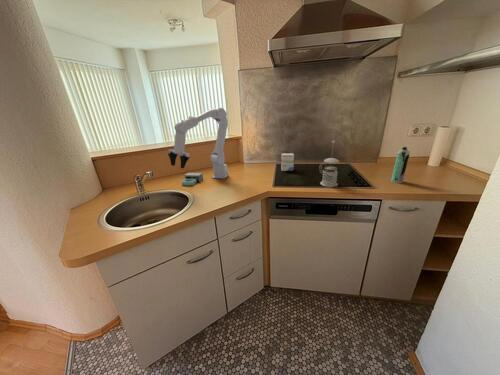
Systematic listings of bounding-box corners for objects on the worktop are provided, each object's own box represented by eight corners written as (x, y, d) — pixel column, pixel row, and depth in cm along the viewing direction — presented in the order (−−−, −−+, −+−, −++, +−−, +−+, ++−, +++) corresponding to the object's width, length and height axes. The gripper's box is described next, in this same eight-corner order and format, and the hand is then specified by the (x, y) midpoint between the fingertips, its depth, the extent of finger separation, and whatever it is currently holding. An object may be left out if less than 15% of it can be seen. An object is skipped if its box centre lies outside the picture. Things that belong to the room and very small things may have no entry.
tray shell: (196, 182, 130) (196, 178, 129) (192, 185, 125) (191, 182, 124) (186, 182, 132) (186, 178, 131) (182, 185, 126) (181, 181, 125)
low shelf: (203, 179, 135) (202, 173, 134) (199, 182, 131) (198, 175, 129) (189, 178, 137) (188, 172, 136) (185, 181, 133) (184, 175, 131)
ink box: (292, 168, 149) (293, 153, 145) (293, 170, 145) (294, 154, 140) (281, 168, 150) (281, 153, 146) (281, 170, 146) (281, 154, 141)
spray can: (404, 183, 115) (413, 147, 107) (393, 182, 116) (401, 147, 109) (399, 179, 120) (408, 146, 112) (389, 179, 121) (397, 146, 114)
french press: (331, 188, 112) (336, 142, 103) (314, 182, 121) (317, 140, 112) (341, 183, 118) (347, 140, 108) (324, 179, 126) (328, 138, 117)
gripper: (165, 141, 117) (163, 164, 120) (184, 145, 111) (181, 169, 114) (174, 142, 123) (172, 164, 126) (193, 146, 117) (190, 169, 120)
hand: (177, 166), depth 120 cm, fingers open, 7 cm apart
